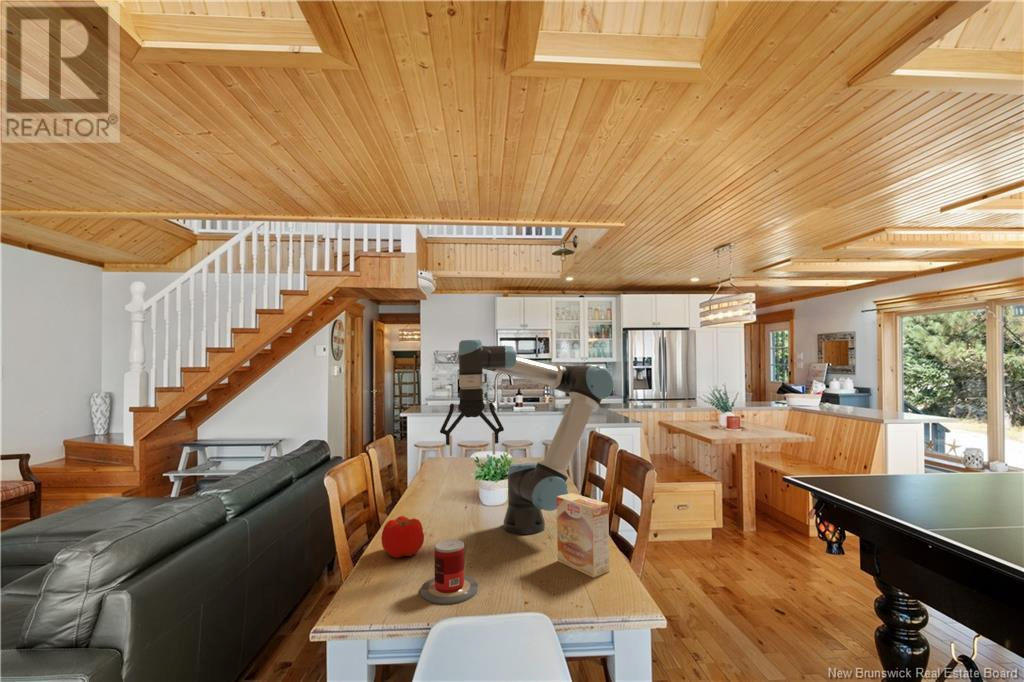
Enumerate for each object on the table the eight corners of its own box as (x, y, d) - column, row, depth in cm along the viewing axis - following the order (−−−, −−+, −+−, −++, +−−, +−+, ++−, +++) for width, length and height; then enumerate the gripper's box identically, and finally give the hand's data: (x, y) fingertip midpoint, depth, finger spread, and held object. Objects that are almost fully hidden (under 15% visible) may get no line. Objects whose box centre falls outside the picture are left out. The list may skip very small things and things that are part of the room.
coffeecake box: (556, 561, 146) (555, 496, 147) (573, 555, 150) (572, 492, 151) (593, 578, 134) (592, 507, 135) (610, 571, 138) (609, 502, 139)
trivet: (478, 577, 135) (478, 573, 135) (476, 603, 120) (476, 599, 120) (424, 578, 135) (424, 575, 135) (416, 605, 120) (416, 601, 120)
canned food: (468, 582, 130) (468, 540, 130) (455, 595, 122) (455, 551, 123) (443, 578, 132) (443, 537, 133) (429, 591, 125) (429, 548, 125)
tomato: (424, 560, 147) (424, 525, 148) (380, 564, 145) (380, 528, 145) (423, 544, 161) (423, 512, 161) (382, 547, 158) (382, 514, 158)
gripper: (430, 389, 150) (432, 458, 149) (510, 387, 152) (512, 455, 151) (433, 388, 157) (434, 453, 156) (509, 386, 159) (510, 450, 158)
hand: (472, 454), depth 154 cm, fingers open, 13 cm apart
